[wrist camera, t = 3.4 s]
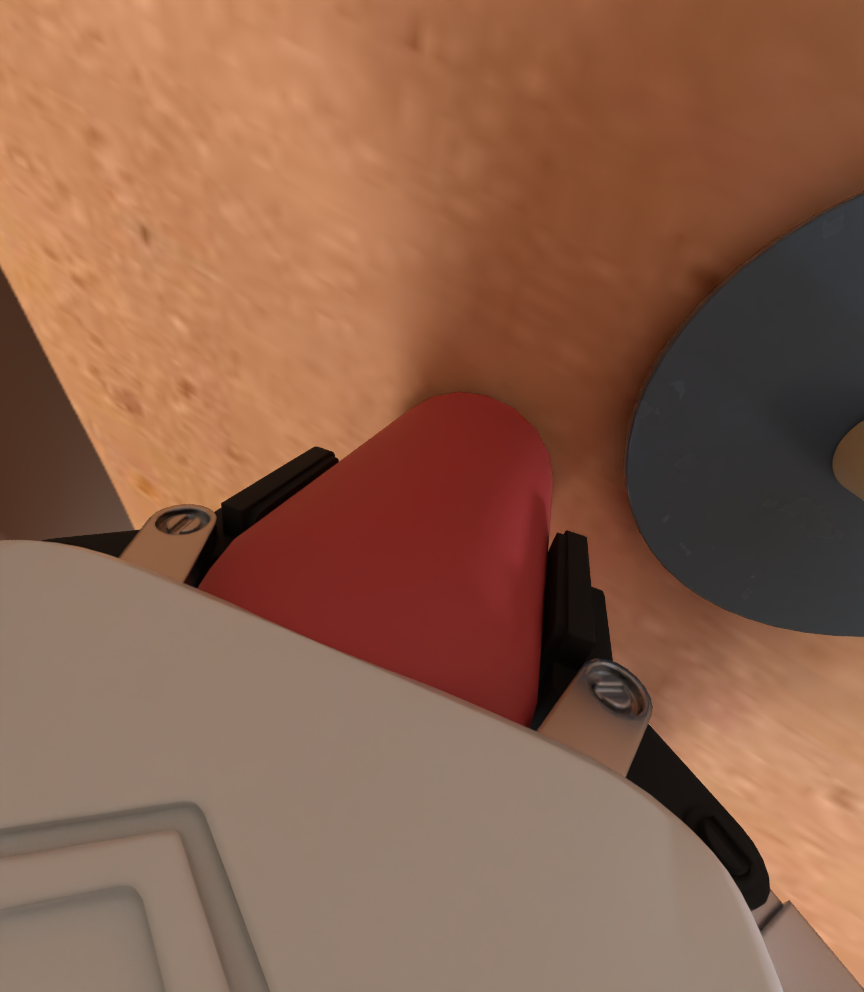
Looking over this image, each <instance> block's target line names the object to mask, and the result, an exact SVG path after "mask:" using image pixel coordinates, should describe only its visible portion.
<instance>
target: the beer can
mask: <svg viewBox="0 0 864 992" xmlns="http://www.w3.org/2000/svg"><path fill="white" fill-rule="evenodd" d="M552 488H553V479H552V471H551V464H550V456H549V453H548V451H547V449H546V448H545V446H544V444H543V442H542V440H541V438H540V436H539V434H538V432H537V430H536V429H535V428H534V427H533V426H532V425H531V424H530V423H529V422H528V421H527V420H526V419H525V418H524V417H523V416H522V415H521V414H520V413H519V412H518V411H516V410H515V409H514V408H512V407H510V406H508V405H506V404H504V403H502V402H500V401H498V400H495V399H493V398H491V397H489V396H486V395H479V394H471V393H464V392H455V393H450V394H445V395H440V396H434V397H430V398H429V399H427V400H425V401H424V402H422V403H420V404H419V405H417V406H415V407H414V408H412V409H410V410H409V411H407V412H406V413H404V414H403V415H402V416H400V417H399V418H398V419H396V420H395V421H394V422H392V423H391V424H390V425H388V426H387V427H386V428H384V429H383V430H381V431H380V432H379V433H377V434H376V435H375V436H373V437H372V438H371V439H369V440H368V441H367V442H365V443H364V444H362V445H361V446H360V447H358V448H357V449H356V450H354V451H353V452H352V453H350V454H349V455H348V456H346V457H345V458H344V459H342V460H341V461H339V462H338V463H337V464H335V465H334V466H333V467H331V468H330V469H329V470H327V471H326V472H325V473H323V474H322V475H321V476H319V477H318V478H316V479H315V480H314V481H312V482H311V483H310V484H308V485H307V486H306V487H304V488H303V489H302V490H300V491H299V492H298V493H296V494H295V495H293V496H292V497H291V498H289V499H288V500H287V501H285V502H284V503H283V504H281V505H280V506H279V507H277V508H276V509H275V510H273V511H272V512H270V513H269V514H268V515H266V516H265V517H264V518H262V519H261V520H260V521H258V522H257V523H256V524H254V525H253V526H252V527H250V528H249V529H247V530H246V531H245V532H243V533H242V534H241V535H239V536H238V537H237V538H235V539H234V540H233V541H232V543H231V544H230V545H229V546H228V547H227V549H226V550H225V551H224V552H223V554H222V555H221V556H220V557H219V558H218V560H217V561H216V562H215V563H214V565H213V566H212V567H211V568H210V570H209V571H208V573H207V574H206V576H205V577H204V579H203V580H202V582H201V583H200V585H199V587H198V588H197V589H199V590H202V591H204V592H207V593H209V594H211V595H214V596H216V597H219V598H221V599H224V600H226V601H228V602H231V603H233V604H235V605H237V606H239V607H241V608H244V609H246V610H248V611H250V612H252V613H254V614H256V615H258V616H260V617H262V618H264V619H267V620H269V621H271V622H273V623H276V624H278V625H280V626H282V627H285V628H287V629H289V630H292V631H294V632H296V633H298V634H301V635H303V636H305V637H308V638H310V639H312V640H314V641H317V642H319V643H321V644H324V645H326V646H329V647H331V648H334V649H336V650H339V651H342V652H344V653H347V654H349V655H352V656H354V657H357V658H359V659H362V660H364V661H367V662H369V663H372V664H374V665H377V666H379V667H382V668H384V669H387V670H389V671H392V672H395V673H398V674H400V675H403V676H406V677H408V678H411V679H414V680H416V681H419V682H421V683H424V684H427V685H429V686H432V687H434V688H437V689H439V690H442V691H444V692H446V693H449V694H451V695H453V696H456V697H458V698H460V699H463V700H465V701H468V702H470V703H472V704H475V705H477V706H479V707H482V708H484V709H486V710H489V711H491V712H493V713H495V714H498V715H500V716H502V717H504V718H507V719H509V720H511V721H513V722H516V723H518V724H520V725H523V726H525V727H527V728H529V729H530V725H531V722H532V719H533V715H534V712H535V708H536V705H537V699H538V685H539V671H540V657H541V642H542V628H543V614H544V600H545V586H546V572H547V558H548V544H549V530H550V516H551V502H552Z"/></svg>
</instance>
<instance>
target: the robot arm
mask: <svg viewBox="0 0 864 992" xmlns="http://www.w3.org/2000/svg"><path fill="white" fill-rule="evenodd" d="M338 462H339V460H338V458H335V454H334V453H333V452H332V451H329V450H326V449H323V448H320V447H313V448H311V449H310V450H308V451H306V452H305V453H303V454H302V455H300V456H298V457H297V458H295V459H293V460H292V461H290V462H288V463H287V464H285V465H283V466H282V467H280V468H278V469H277V470H275V471H274V472H272V473H270V474H269V475H267V476H265V477H264V478H262V479H260V480H259V481H257V482H255V483H254V484H252V485H250V486H249V487H247V488H246V489H244V490H242V491H241V492H239V493H237V494H236V495H234V496H232V497H231V498H229V499H227V500H226V501H224V502H222V503H221V507H222V508H220V509H218V510H217V511H215V512H213V511H212V510H211V509H209V508H207V507H204V506H200V505H194V504H182V505H175V506H171V507H167V508H164V509H162V510H160V511H158V512H156V513H155V514H153V515H152V516H151V517H150V518H149V519H148V521H147V522H146V523H145V524H144V526H143V527H142V528H141V529H140V530H133V531H123V532H113V533H103V534H94V535H83V536H73V537H63V538H55V539H47V540H42V541H29V540H3V541H0V992H864V988H863V987H862V986H861V985H860V984H859V982H858V981H857V980H856V979H855V978H854V976H853V975H852V974H851V973H850V972H849V971H848V969H847V968H846V967H845V966H844V965H843V963H842V962H841V961H840V960H839V959H838V957H837V956H836V955H835V954H834V953H833V951H832V950H831V949H830V948H829V947H828V946H827V944H826V943H825V942H824V941H823V940H822V938H821V937H820V936H819V935H818V934H817V932H816V931H815V930H814V929H813V928H812V927H811V925H810V924H809V923H808V922H807V921H806V919H805V918H804V917H803V916H802V915H801V913H800V912H799V911H798V910H797V909H796V907H795V906H794V905H793V904H792V903H791V902H790V900H789V901H787V902H785V903H783V904H782V902H781V901H780V900H779V899H778V898H777V896H776V895H775V894H774V893H773V891H772V890H771V889H770V884H769V875H768V873H767V870H766V867H765V864H764V861H763V859H762V857H761V855H760V853H759V852H758V850H757V848H756V846H755V845H754V843H753V841H752V840H751V839H750V837H749V836H748V835H747V834H746V832H745V831H744V830H743V829H742V827H741V826H740V825H739V824H738V823H737V822H736V820H735V819H734V818H733V817H732V816H731V815H730V814H729V813H728V812H727V810H726V809H725V808H724V807H723V806H722V805H721V804H720V803H719V802H718V801H717V799H716V798H715V797H714V796H713V795H712V794H711V793H710V792H709V791H708V789H707V788H706V787H705V786H704V785H703V784H702V783H701V782H700V781H699V779H698V778H697V777H696V776H695V775H694V774H693V773H692V772H691V771H690V769H689V768H688V767H687V766H686V765H685V764H684V763H683V762H682V761H681V759H680V758H679V757H678V756H677V755H676V754H675V753H674V752H673V751H672V749H671V748H670V747H669V746H668V745H667V744H666V743H665V742H664V741H663V739H662V738H661V737H660V736H659V735H658V734H657V733H656V732H655V731H654V729H653V728H652V727H651V726H650V725H649V724H648V723H649V720H650V718H651V715H652V708H653V706H652V702H651V698H650V696H649V694H648V692H647V690H646V688H645V687H644V685H643V684H642V683H641V682H640V681H639V679H638V678H637V677H636V676H635V675H634V674H632V673H631V672H630V671H629V670H628V669H626V668H625V667H623V666H621V665H619V664H618V663H616V662H613V658H612V650H611V643H610V635H609V627H608V619H607V611H606V603H605V596H604V592H603V591H602V590H599V589H596V588H593V587H591V578H590V566H589V554H588V543H587V537H586V536H583V535H580V534H577V533H574V532H571V531H568V530H567V531H565V533H564V534H561V533H557V534H556V536H555V538H554V540H553V542H552V545H551V547H550V549H549V551H548V558H547V572H546V586H545V600H544V614H543V628H542V642H541V657H540V671H539V685H538V699H537V705H536V708H535V712H534V715H533V719H532V722H531V725H530V729H529V728H527V727H525V726H523V725H520V724H518V723H516V722H513V721H511V720H509V719H507V718H504V717H502V716H500V715H498V714H495V713H493V712H491V711H489V710H486V709H484V708H482V707H479V706H477V705H475V704H472V703H470V702H468V701H465V700H463V699H460V698H458V697H456V696H453V695H451V694H449V693H446V692H444V691H442V690H439V689H437V688H434V687H432V686H429V685H427V684H424V683H421V682H419V681H416V680H414V679H411V678H408V677H406V676H403V675H400V674H398V673H395V672H392V671H389V670H387V669H384V668H382V667H379V666H377V665H374V664H372V663H369V662H367V661H364V660H362V659H359V658H357V657H354V656H352V655H349V654H347V653H344V652H342V651H339V650H336V649H334V648H331V647H329V646H326V645H324V644H321V643H319V642H317V641H314V640H312V639H310V638H308V637H305V636H303V635H301V634H298V633H296V632H294V631H292V630H289V629H287V628H285V627H282V626H280V625H278V624H276V623H273V622H271V621H269V620H267V619H264V618H262V617H260V616H258V615H256V614H254V613H252V612H250V611H248V610H246V609H244V608H241V607H239V606H237V605H235V604H233V603H231V602H228V601H226V600H224V599H221V598H219V597H216V596H214V595H211V594H209V593H207V592H204V591H202V590H199V589H197V588H198V587H199V585H200V583H201V582H202V580H203V579H204V577H205V576H206V574H207V573H208V571H209V570H210V568H211V567H212V566H213V565H214V563H215V562H216V561H217V560H218V558H219V557H220V556H221V555H222V554H223V552H224V551H225V550H226V549H227V547H228V546H229V545H230V544H231V543H232V541H233V540H234V539H235V538H237V537H238V536H239V535H241V534H242V533H243V532H245V531H246V530H247V529H249V528H250V527H252V526H253V525H254V524H256V523H257V522H258V521H260V520H261V519H262V518H264V517H265V516H266V515H268V514H269V513H270V512H272V511H273V510H275V509H276V508H277V507H279V506H280V505H281V504H283V503H284V502H285V501H287V500H288V499H289V498H291V497H292V496H293V495H295V494H296V493H298V492H299V491H300V490H302V489H303V488H304V487H306V486H307V485H308V484H310V483H311V482H312V481H314V480H315V479H316V478H318V477H319V476H321V475H322V474H323V473H325V472H326V471H327V470H329V469H330V468H331V467H333V466H334V465H335V464H337V463H338Z"/></svg>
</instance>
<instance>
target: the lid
mask: <svg viewBox="0 0 864 992" xmlns="http://www.w3.org/2000/svg"><path fill="white" fill-rule="evenodd" d="M624 475H625V486H626V490H627V495H628V500H629V504H630V508H631V511H632V514H633V516H634V519H635V521H636V524H637V526H638V529H639V531H640V533H641V535H642V537H643V538H644V540H645V542H646V543H647V545H648V547H649V548H650V550H651V551H652V553H653V554H654V555H655V556H656V558H657V559H658V560H659V561H660V562H661V564H662V565H663V566H664V567H665V568H666V569H667V570H668V571H669V572H670V573H671V574H672V575H673V576H674V577H675V578H677V579H678V580H679V581H680V582H681V583H682V584H684V585H685V586H686V587H688V588H689V589H691V590H692V591H694V592H695V593H696V594H698V595H699V596H701V597H702V598H704V599H706V600H708V601H710V602H712V603H713V604H715V605H717V606H719V607H721V608H723V609H725V610H727V611H730V612H732V613H735V614H737V615H740V616H742V617H745V618H747V619H750V620H754V621H757V622H760V623H764V624H767V625H771V626H774V627H779V628H784V629H789V630H794V631H799V632H804V633H814V634H823V635H832V636H856V637H864V191H862V192H860V193H858V194H856V195H854V196H852V197H850V198H848V199H846V200H844V201H842V202H840V203H838V204H836V205H834V206H832V207H830V208H828V209H826V210H824V211H822V212H820V213H818V214H816V215H814V216H812V217H811V218H809V219H807V220H806V221H804V222H803V223H801V224H799V225H798V226H796V227H794V228H793V229H791V230H790V231H788V232H786V233H785V234H783V235H782V236H780V237H778V238H777V239H775V240H773V241H772V242H771V243H769V244H768V245H767V246H765V247H764V248H763V249H761V250H760V251H759V252H757V253H756V254H755V255H753V256H752V257H751V258H749V259H748V260H747V261H745V262H744V263H743V264H741V265H740V266H739V267H738V268H736V269H735V270H734V271H733V272H732V273H731V274H730V275H729V276H727V277H726V278H725V279H724V280H723V281H722V282H721V283H720V284H719V285H718V286H717V287H715V288H714V289H713V290H712V291H711V292H710V293H709V294H708V295H707V296H706V297H705V298H704V299H703V300H702V301H701V302H700V303H699V304H698V306H697V307H696V308H695V309H694V310H693V311H692V312H691V313H690V315H689V316H688V317H687V318H686V319H685V320H684V321H683V322H682V324H681V325H680V326H679V327H678V329H677V330H676V331H675V333H674V334H673V336H672V337H671V338H670V340H669V341H668V343H667V344H666V345H665V347H664V348H663V350H662V351H661V352H660V354H659V355H658V357H657V359H656V361H655V363H654V364H653V366H652V368H651V370H650V372H649V373H648V375H647V377H646V379H645V381H644V382H643V385H642V387H641V390H640V392H639V395H638V397H637V400H636V402H635V405H634V407H633V410H632V414H631V418H630V422H629V426H628V430H627V434H626V442H625V452H624Z"/></svg>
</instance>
